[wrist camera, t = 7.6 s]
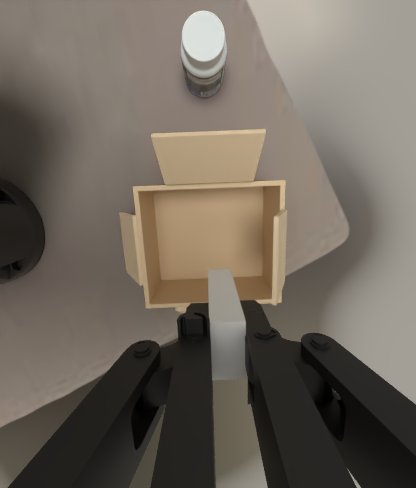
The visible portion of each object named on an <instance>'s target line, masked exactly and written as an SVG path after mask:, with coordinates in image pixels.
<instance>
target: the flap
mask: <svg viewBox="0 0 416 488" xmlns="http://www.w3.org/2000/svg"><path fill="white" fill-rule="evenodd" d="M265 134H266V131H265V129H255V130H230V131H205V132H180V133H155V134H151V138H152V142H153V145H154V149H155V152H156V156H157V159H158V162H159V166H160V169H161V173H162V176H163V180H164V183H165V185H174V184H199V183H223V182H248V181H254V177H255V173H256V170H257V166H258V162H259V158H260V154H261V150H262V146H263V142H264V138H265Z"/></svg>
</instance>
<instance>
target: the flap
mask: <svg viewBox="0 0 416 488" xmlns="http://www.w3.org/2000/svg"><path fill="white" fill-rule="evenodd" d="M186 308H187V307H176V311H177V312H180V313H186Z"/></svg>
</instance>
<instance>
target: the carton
mask: <svg viewBox="0 0 416 488" xmlns="http://www.w3.org/2000/svg"><path fill="white" fill-rule="evenodd" d="M133 194H134V203H135V212H136V221H137V230H138V240H139V249H140V258H141V267H142V277H143V286H144V295H145V304H146V308H169V307H188V306H189V305H190V304H191V303H206V302H209V294H208V270H215V269H231V273H232V276H233V280H234V283H235V286H236V290H237V293H238V297H239V300H255V301H257V302H258V303H259V304H263V303H272V274H273V232H274V216H275V215H277V214H278V213H279V212H281V211H282V210H284V207H285V180H280V181H255V182H231V183H206V184H182V185H157V186H133ZM281 297H282V291H281V294H280V296H279V299H278V302H277V303H281Z"/></svg>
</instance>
